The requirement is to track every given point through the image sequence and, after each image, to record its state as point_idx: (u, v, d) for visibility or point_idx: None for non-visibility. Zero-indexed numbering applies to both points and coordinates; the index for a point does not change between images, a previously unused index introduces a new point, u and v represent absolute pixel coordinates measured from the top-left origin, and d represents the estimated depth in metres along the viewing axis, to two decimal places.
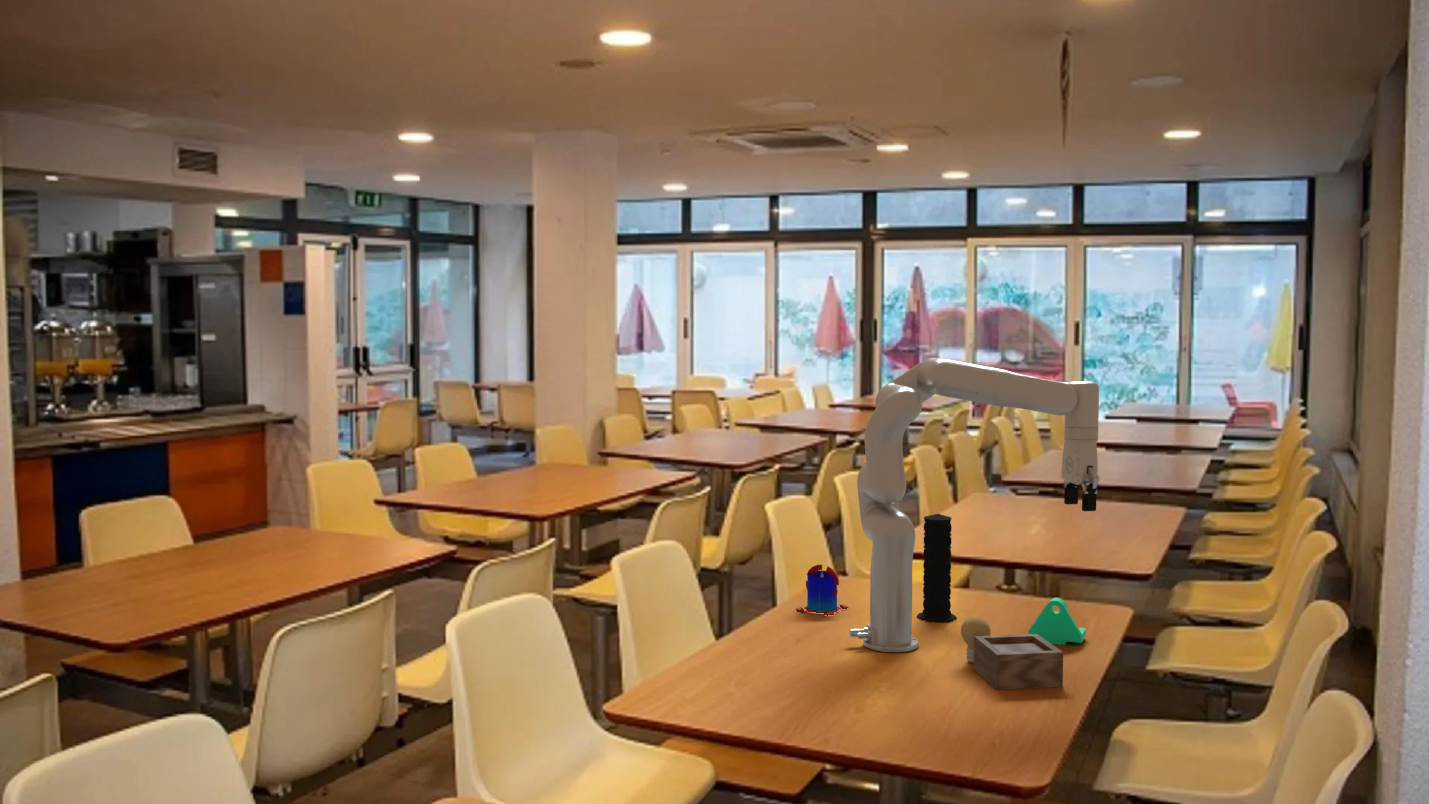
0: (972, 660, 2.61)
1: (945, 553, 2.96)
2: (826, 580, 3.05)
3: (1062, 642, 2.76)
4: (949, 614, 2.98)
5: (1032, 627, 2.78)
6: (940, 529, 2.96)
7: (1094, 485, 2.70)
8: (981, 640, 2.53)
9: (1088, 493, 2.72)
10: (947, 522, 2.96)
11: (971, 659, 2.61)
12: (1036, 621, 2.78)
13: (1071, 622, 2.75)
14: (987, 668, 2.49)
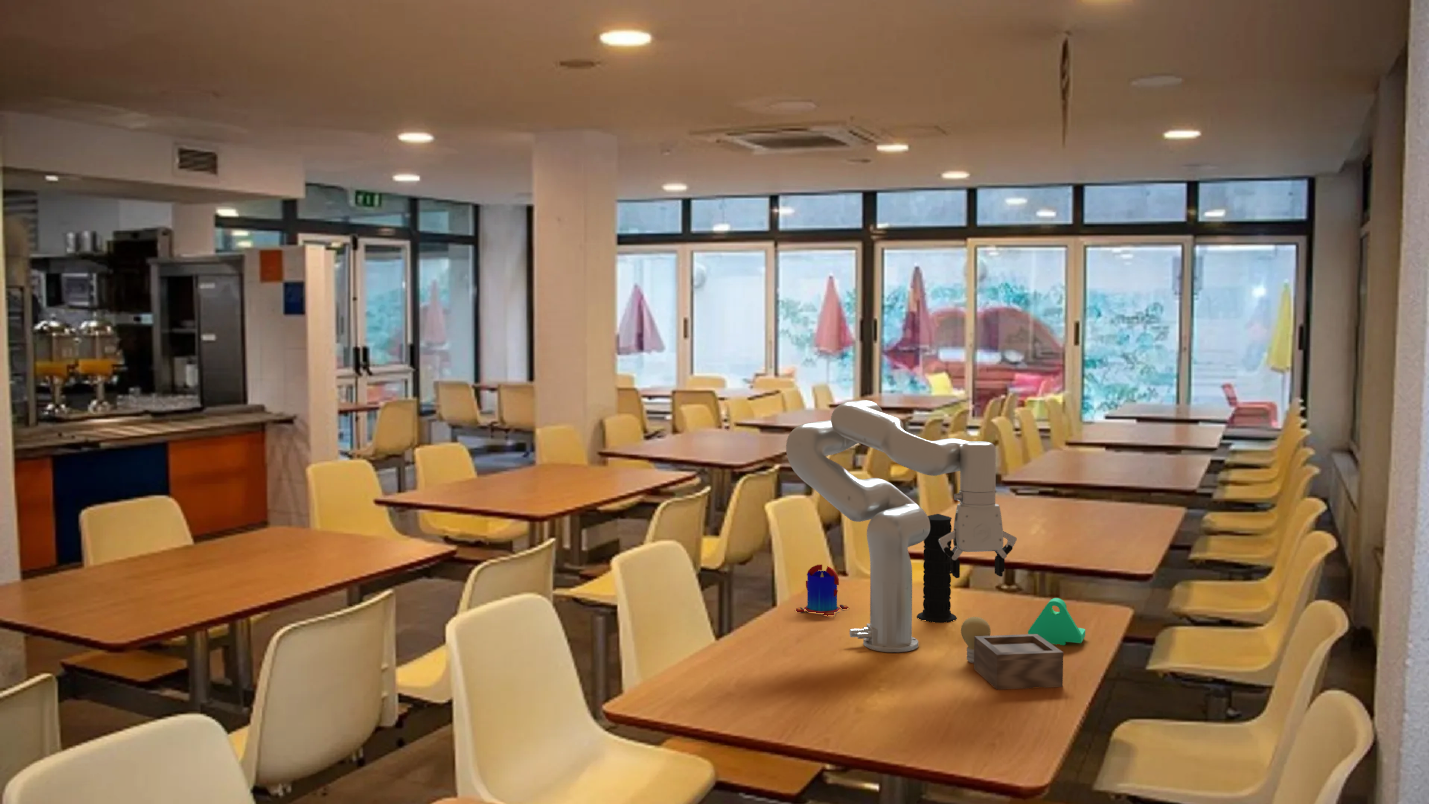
0: (972, 660, 2.61)
1: (945, 553, 2.96)
2: (826, 580, 3.05)
3: (1062, 642, 2.76)
4: (949, 614, 2.98)
5: (1032, 627, 2.78)
6: (940, 529, 2.96)
7: None
8: (981, 640, 2.53)
9: None
10: (947, 522, 2.96)
11: (971, 659, 2.61)
12: (1036, 621, 2.78)
13: (1071, 622, 2.74)
14: (987, 668, 2.49)
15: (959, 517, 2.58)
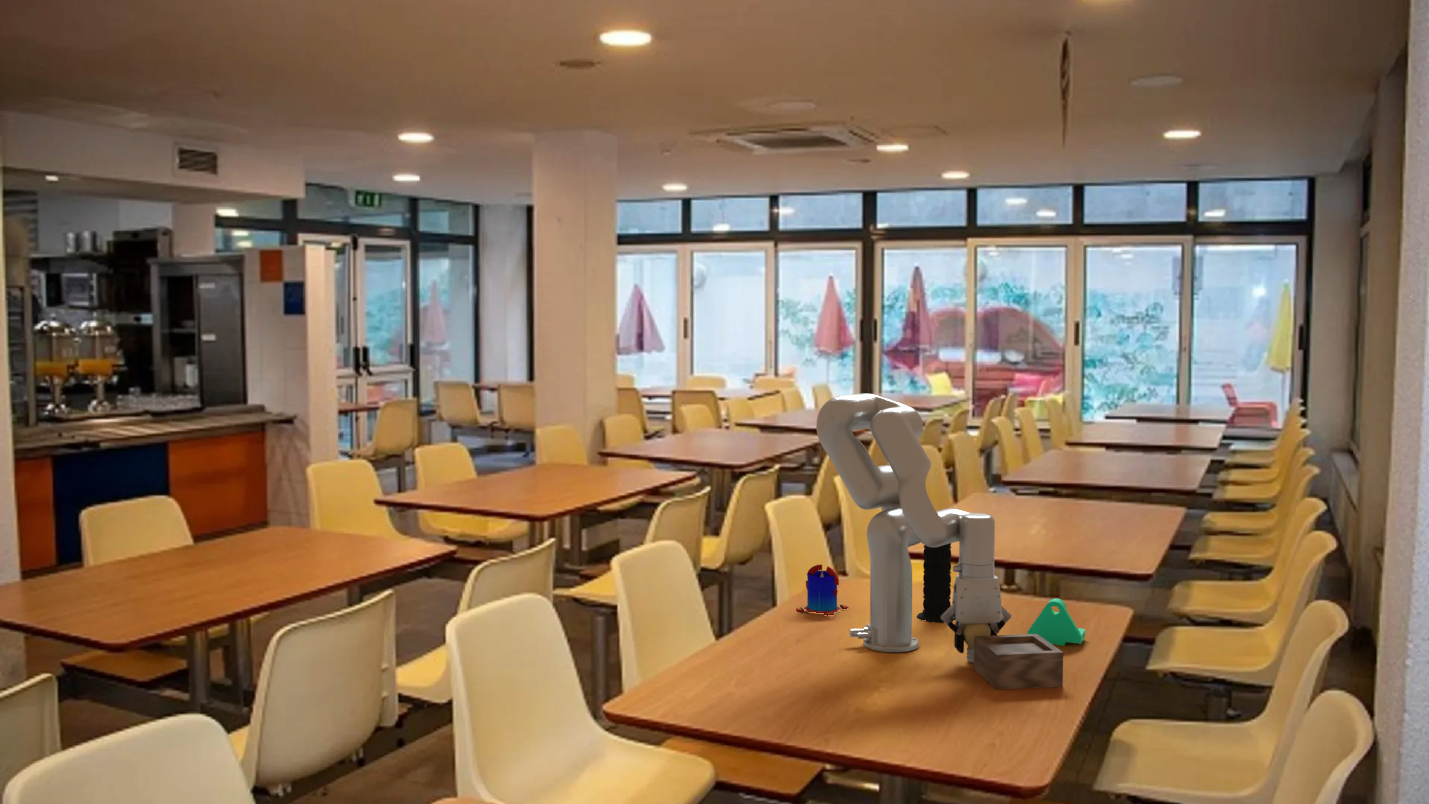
0: (972, 660, 2.61)
1: (945, 553, 2.96)
2: (826, 580, 3.05)
3: (1061, 643, 2.75)
4: None
5: (1031, 628, 2.78)
6: None
7: None
8: (981, 640, 2.53)
9: None
10: None
11: (971, 659, 2.61)
12: (1035, 622, 2.77)
13: (1070, 623, 2.74)
14: (987, 668, 2.49)
15: (958, 589, 2.59)
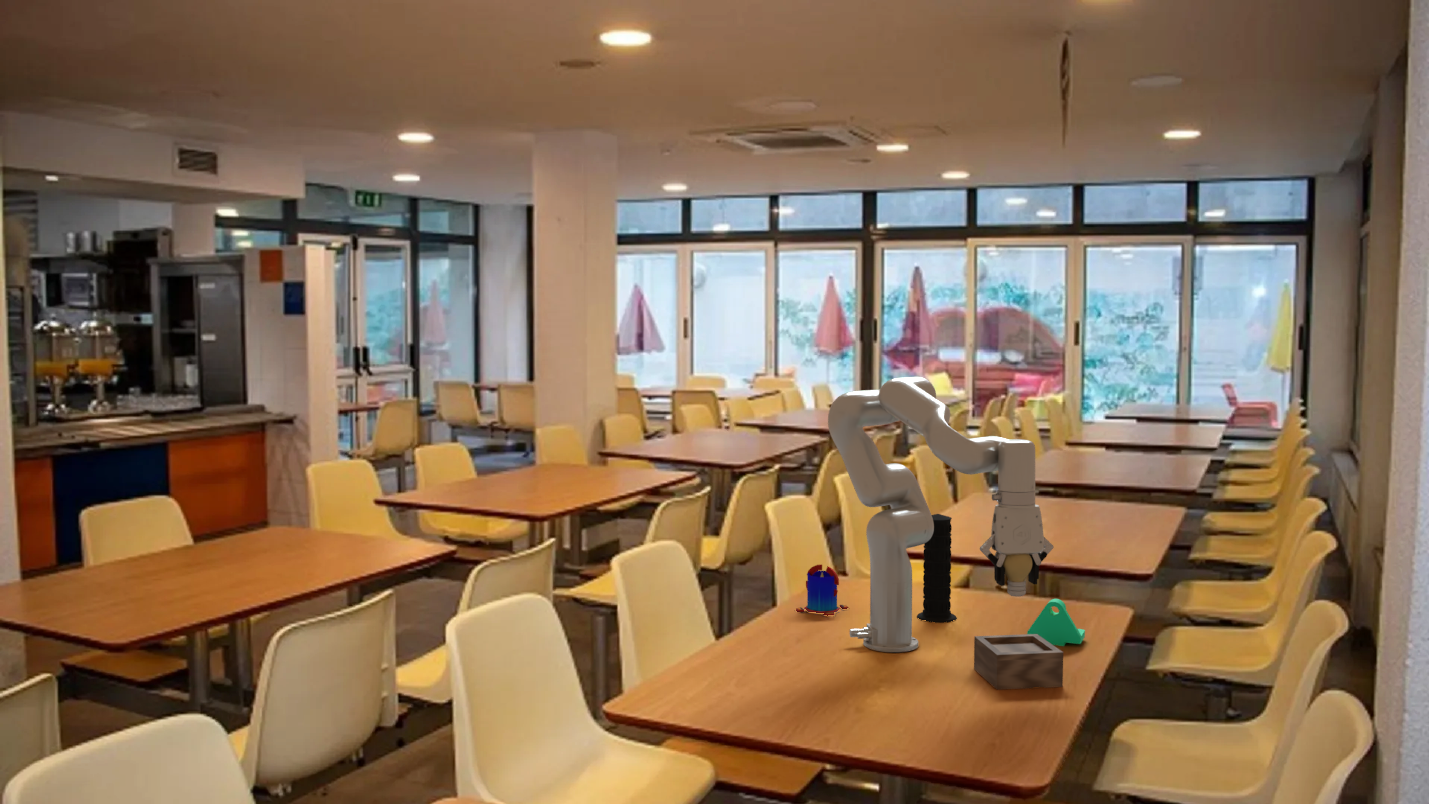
0: (1013, 593, 2.49)
1: (945, 553, 2.96)
2: (826, 580, 3.05)
3: (1061, 643, 2.75)
4: (949, 614, 2.98)
5: (1031, 628, 2.78)
6: (940, 529, 2.96)
7: None
8: (981, 640, 2.53)
9: None
10: (947, 522, 2.96)
11: (1012, 592, 2.49)
12: (1035, 622, 2.77)
13: (1070, 623, 2.74)
14: (987, 668, 2.49)
15: (998, 518, 2.47)
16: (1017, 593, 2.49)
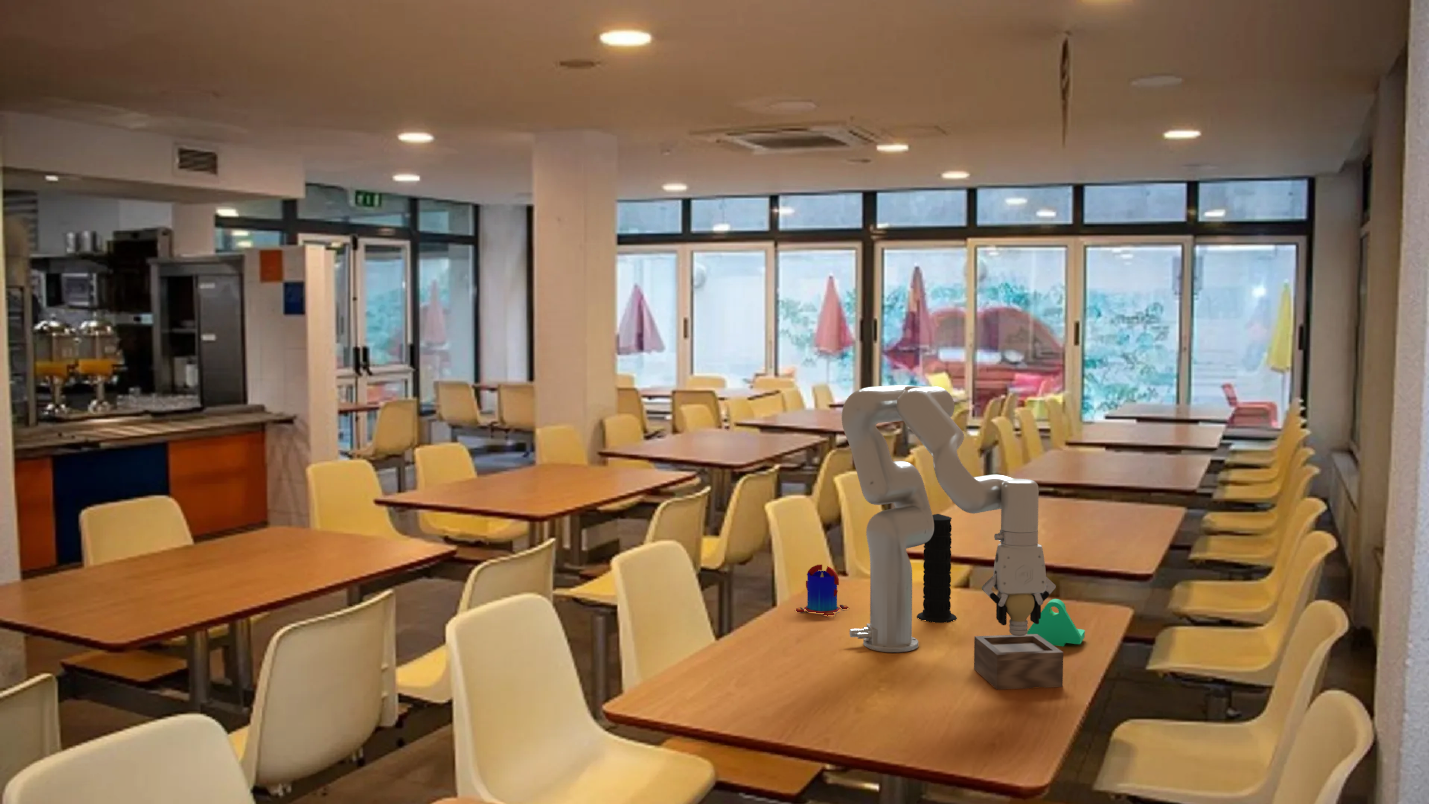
0: (1015, 632, 2.49)
1: (945, 553, 2.96)
2: (826, 580, 3.05)
3: (1061, 643, 2.75)
4: (949, 614, 2.98)
5: (1031, 628, 2.77)
6: (940, 529, 2.96)
7: None
8: (981, 640, 2.53)
9: None
10: (947, 522, 2.96)
11: (1014, 631, 2.49)
12: None
13: (1070, 623, 2.73)
14: (987, 668, 2.49)
15: (1000, 558, 2.47)
16: (1019, 633, 2.48)
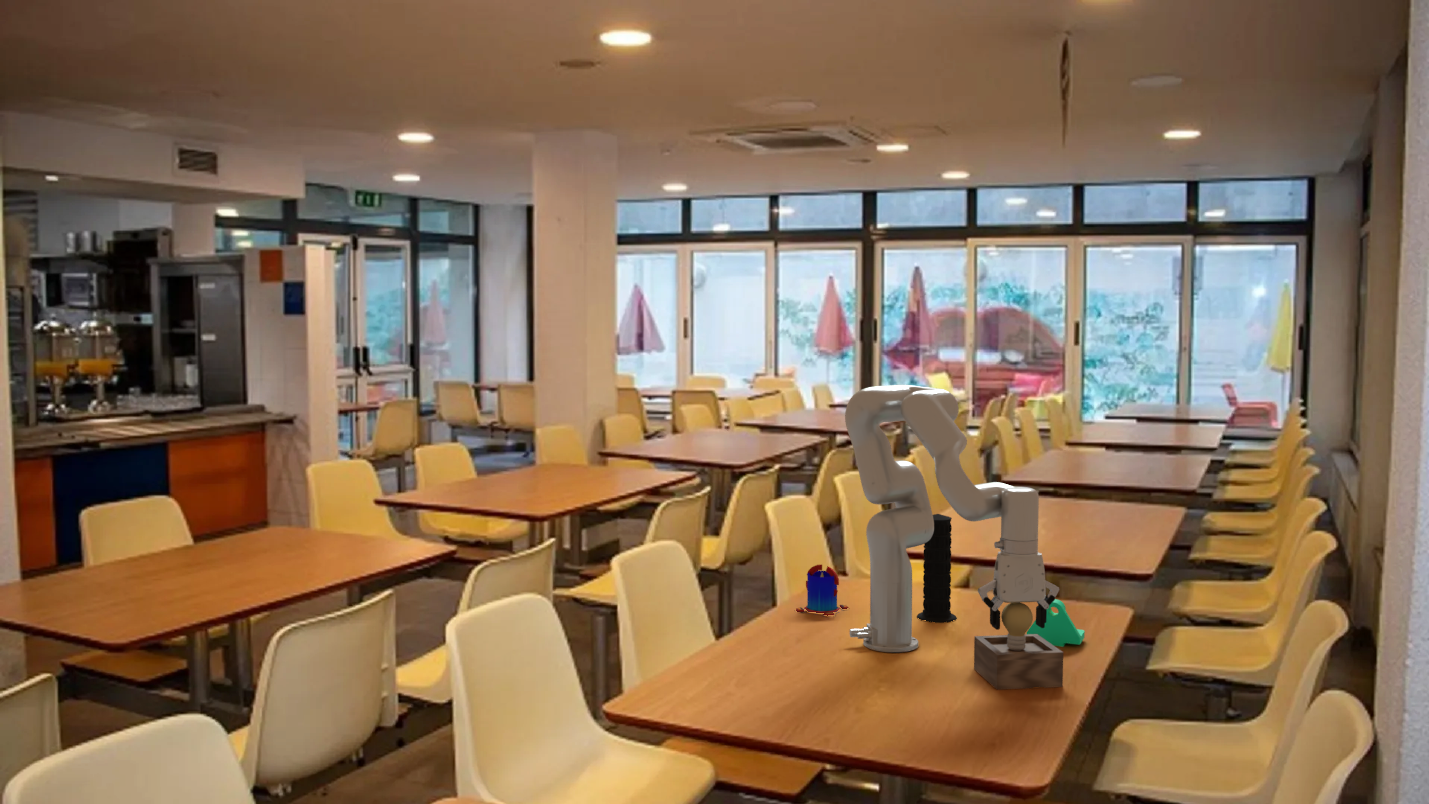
0: (1013, 647, 2.49)
1: (945, 553, 2.96)
2: (826, 580, 3.05)
3: (1061, 644, 2.74)
4: (949, 614, 2.98)
5: (1030, 629, 2.77)
6: (940, 529, 2.96)
7: None
8: (981, 640, 2.53)
9: None
10: (947, 522, 2.96)
11: (1012, 646, 2.49)
12: (1034, 623, 2.77)
13: (1069, 624, 2.73)
14: (987, 668, 2.49)
15: (1000, 566, 2.47)
16: (1017, 647, 2.49)
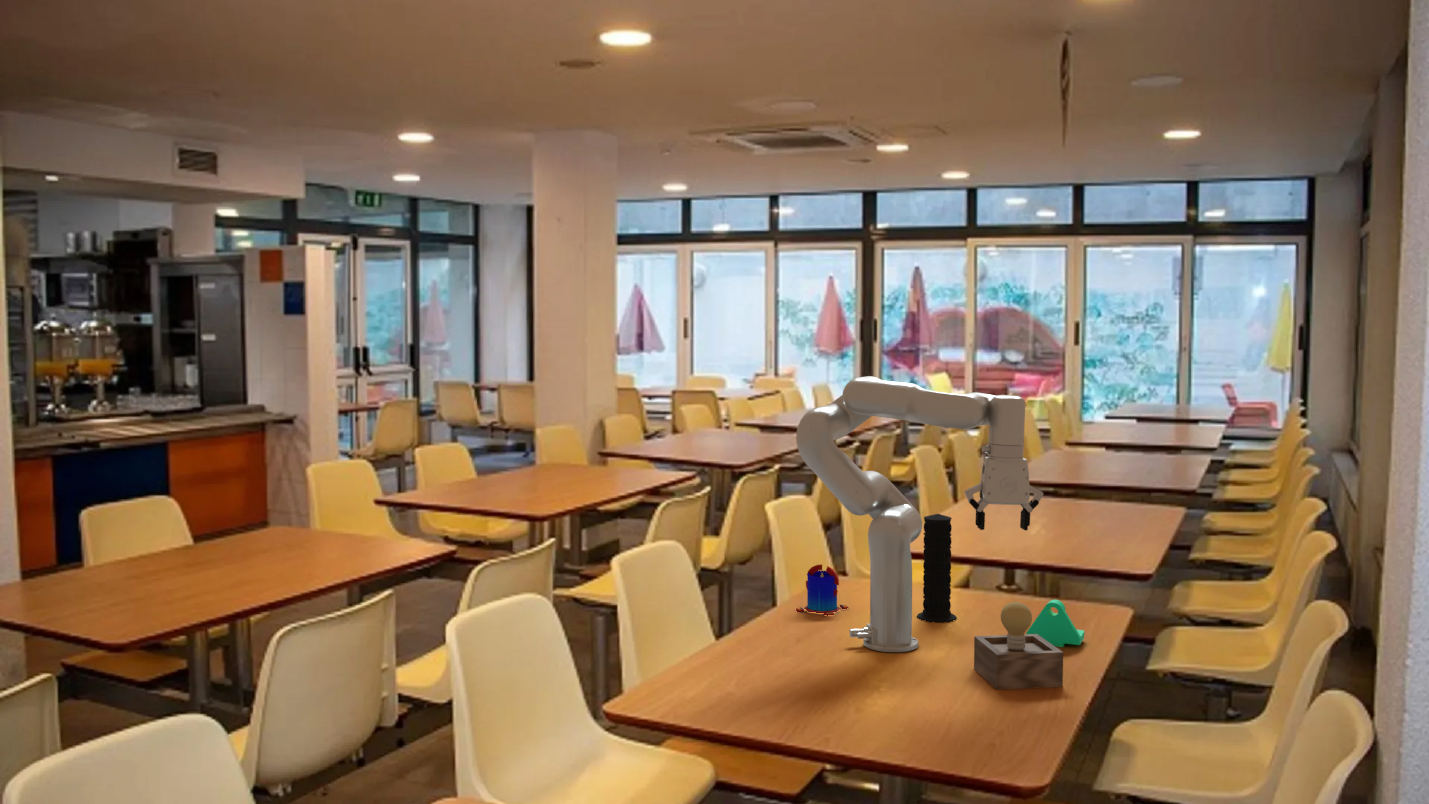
0: (1013, 647, 2.49)
1: (945, 553, 2.96)
2: (826, 580, 3.05)
3: (1060, 644, 2.74)
4: (949, 614, 2.98)
5: (1030, 629, 2.77)
6: (940, 529, 2.96)
7: None
8: (981, 640, 2.53)
9: (1031, 510, 2.62)
10: (947, 522, 2.96)
11: (1012, 646, 2.49)
12: (1034, 623, 2.76)
13: (1069, 624, 2.73)
14: (987, 668, 2.49)
15: (986, 469, 2.60)
16: (1017, 647, 2.49)
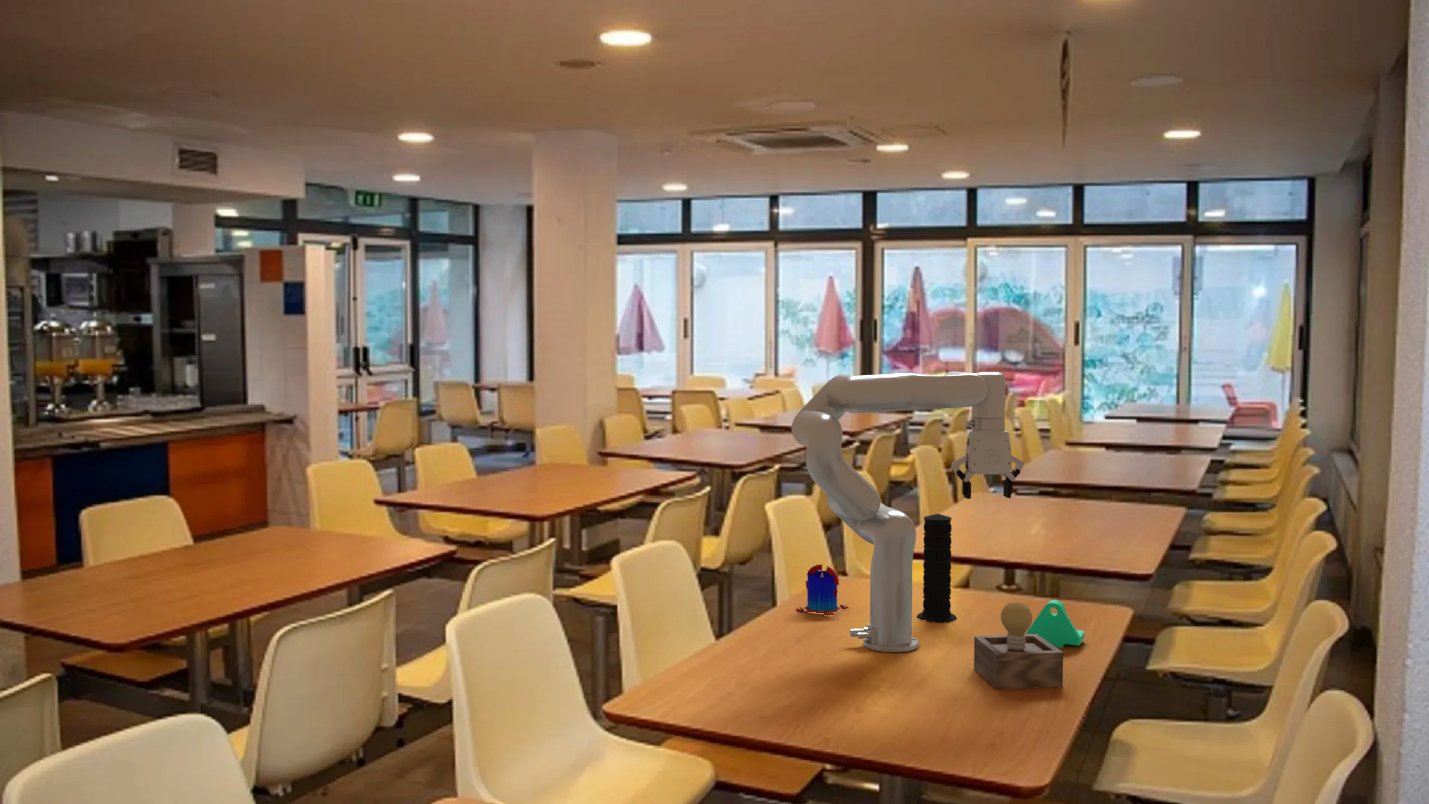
0: (1013, 647, 2.49)
1: (945, 553, 2.96)
2: (826, 580, 3.05)
3: (1060, 644, 2.74)
4: (949, 614, 2.98)
5: (1030, 629, 2.77)
6: (940, 529, 2.96)
7: None
8: (981, 640, 2.53)
9: None
10: (947, 522, 2.96)
11: (1012, 646, 2.49)
12: (1034, 623, 2.76)
13: (1069, 624, 2.73)
14: (987, 668, 2.49)
15: (971, 442, 2.76)
16: (1017, 648, 2.49)
